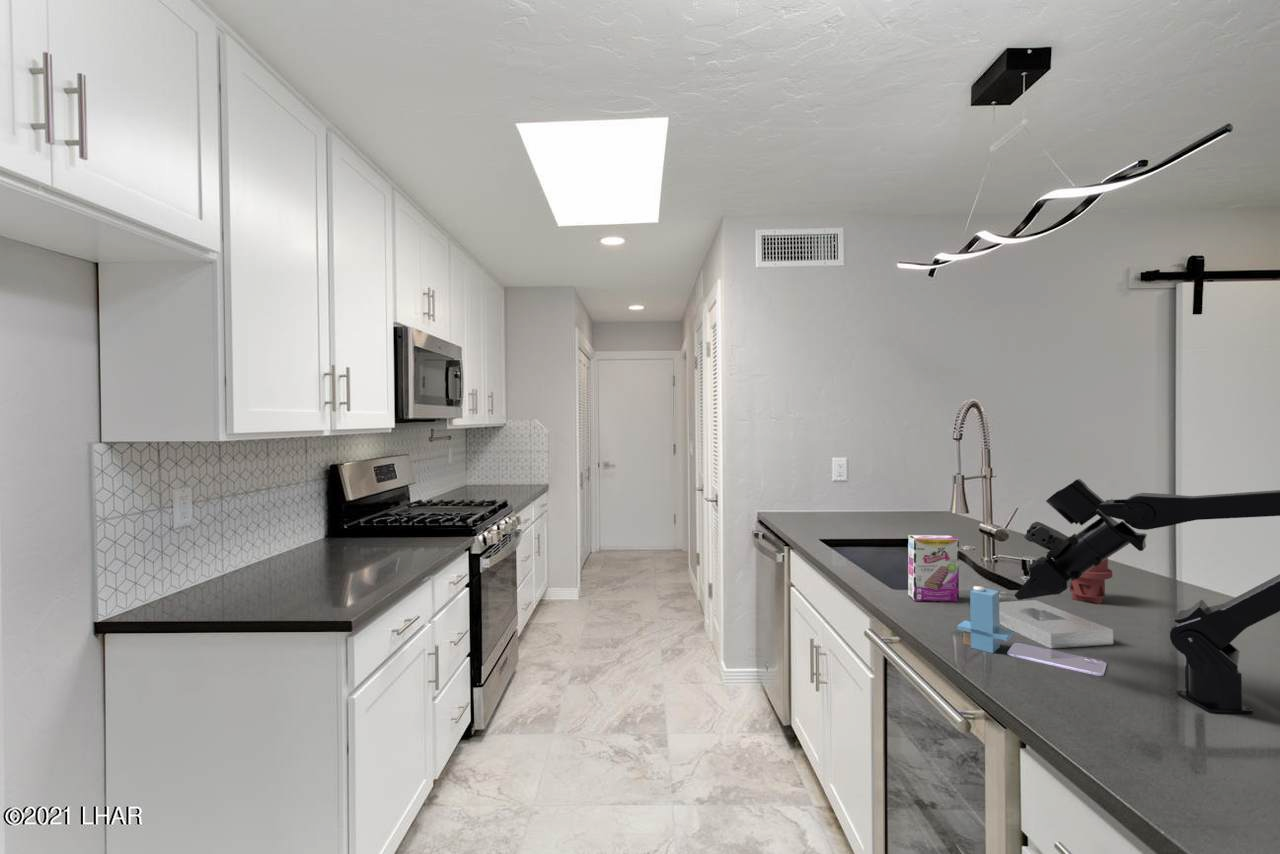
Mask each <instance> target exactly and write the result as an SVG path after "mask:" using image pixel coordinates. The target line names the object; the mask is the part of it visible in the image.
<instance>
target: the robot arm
mask: <svg viewBox="0 0 1280 854" xmlns="http://www.w3.org/2000/svg"><path fill="white" fill-rule="evenodd" d="M1045 502H1046V503H1047V504H1049V506H1050V507H1052V509H1054V510H1055V511H1056V512H1057V513H1058V514H1059V515H1061V517H1062V518H1064V519H1065V520H1066V521H1067V522H1068V523H1069V524H1070V525H1073V524H1075V525H1078V524H1079V525H1080V526H1083V525H1085V524H1086V523H1088V522H1089V521H1091V520H1092V519H1093V518H1095V517H1096V516H1099V517H1100V518H1098V519H1097V520H1095V521H1094V522H1092V523H1091V524H1089V525H1088V526H1086V527H1085V528H1083V530H1081V531H1079V532H1078V533H1077V534H1076V533H1073V534H1072V535H1070V536H1068V535H1066V534H1064V533H1062V532H1061V531H1059V530H1057V529H1055V528H1053V527H1050V526H1048V525H1047V524H1044V523H1042V522H1040V521H1034V522H1032V523H1031V525H1030V526H1029V528H1028V529H1027V530H1026V534H1024V537H1023V538H1024V539H1025V540H1026V541H1028V542H1030V543H1034V544H1036V545H1038V546H1040V547H1042V548H1044V549H1046V550H1048V551H1047V552H1046V554H1045V556H1041V557H1039V558H1037V559H1036V560H1034V561H1033V562H1032V563H1030V564H1029V565H1028V571H1029V577H1028V579H1027V580H1026V581H1025V582H1024V583H1023V585H1022V586H1021V587H1020V588H1019V589H1018V590H1017V591H1016V592H1015V594H1014V597H1015V598H1016V599H1017V601H1023V600H1027V599H1033V598H1038V597H1046V596H1055V595H1056V596H1057V595H1060V594H1062V593H1063V592H1064V591H1066V590H1067V589H1070V586H1071V581H1072V580H1074V579H1077V578H1079V577H1080V576H1081V575H1083V574H1084V573H1085V572H1087V571H1088V570H1090V569H1091V568H1093V567H1095V566H1097V565H1099V564H1100V563H1101V562H1102V561H1104V560H1105V559H1107V558H1108V559H1109V558H1110V557H1111V556H1112V555H1114V554H1116V553H1117V552H1119V551H1120V550H1122V549H1124V548H1125V547H1126V546H1128V545H1129V544H1131V546H1133V547H1134V548H1135V549H1137V550H1138V551H1139V552H1143V551H1144V549H1146V547H1147V544H1146V543H1147V542H1146V539H1147V537H1148V535H1147V533H1140V532H1136V530H1143V531H1146V530H1147V531H1148V530H1153V529H1160V528H1164V527H1165V528H1166V527H1169V526H1173V525H1174V526H1175V525H1178V524H1183V523H1187V522H1193V521H1199V520H1200V521H1202V520H1218V519H1219V520H1221V519H1222V520H1223V519H1224V520H1225V519H1240V518H1242V519H1243V518H1262V517H1263V518H1264V517H1280V489H1276V490H1275V489H1274V490H1273V489H1272V490H1262V491H1249V492H1236V493H1235V492H1234V493H1232V492H1231V493H1219V494H1205V495H1179V494H1171V493H1153V492H1140V493H1139V492H1138V493H1136V494H1133V495H1131V496H1130V497H1128V498H1126V499H1114V498H1111V499H1107V500H1106V499H1105V500H1104V499H1102V498H1101V497H1100V496H1099V495H1098V494H1096V493H1095V492H1094V491H1093V490H1092V489H1091V488H1090V487H1088V486H1087V484H1086V483H1085V482H1084V481H1083V480H1082V479H1081V478H1080V479H1079V478H1078V479H1075V480H1074V481H1073V482H1071V483H1069V484H1068V485H1066V486H1065V487H1063V488H1061V489H1059V490H1057V491H1056V492H1055V493H1054V494H1052V495H1051V496H1050V497H1048V499H1046V500H1045ZM1115 519H1118V520H1122V521H1119V522H1118V521H1117V520H1115ZM1134 529H1136V530H1134ZM1279 612H1280V573H1279V574H1278V575H1275V576H1274V577H1272V578H1270V579H1268V580H1266V581H1264V582H1263V583H1260V584H1259V585H1257V586H1254V587H1253V588H1251V589H1249V590H1247V591H1246V592H1243V593H1241V594H1240V595H1238V596H1236V597H1233V598H1232V599H1230V600H1228V601H1225V602H1224V603H1220V604H1216V605H1211V606H1209V605H1208V604H1207V603H1206V602H1205V601H1204V600H1203V599H1200V600H1198V602H1196V603H1195V604H1194V605H1193V606H1191V607H1190V608H1188V609H1183V610H1178V613H1177V614H1176V617H1175V619H1174V622H1173V625H1172V628H1171V630H1170V633H1169V640H1170V641H1171V644H1172V645H1173V647H1174V648H1175V650H1177V651H1179V653H1181V654H1182V655H1184V657H1185V666H1184V676H1185V680H1184V681H1185V682H1184V683H1185V685H1184V686H1185V687H1184V689H1185V690H1183V689H1179V690H1178V689H1177V690H1176V695H1178V696H1180V697H1182V698H1184V699H1185V700H1187V701H1189V702H1191V703H1193V705H1196V706H1198V707H1200V708H1202V709H1204V710H1205V711H1207V712H1209V713H1227V714H1228V713H1230V714H1231V713H1232V714H1253V713H1254V711H1253V709H1252V708H1250V707H1248V706H1246V705H1244V704H1243V692H1242V691H1243V686H1242V684H1243V683H1242V673H1241V672H1239V669H1238V667H1239V659H1240V650H1239V649H1238V648H1236V646H1234V645H1233V644H1232V642H1233V640H1235V639H1236V638H1237V637H1238V636H1240V634H1242V632H1243V631H1245V630H1246V629H1247V628H1249V627H1250V626H1253V625H1255V624H1257V623H1259V622H1261V621H1263V620H1266V619H1267V618H1269V617H1271V616H1273V615H1275V614H1277V613H1279Z"/></svg>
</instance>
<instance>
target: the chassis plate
mask: <svg viewBox="0 0 1280 854" xmlns="http://www.w3.org/2000/svg"><path fill="white" fill-rule="evenodd" d="M999 622H1000V626H1002V627H1005V628H1007V629H1008V630H1011V631H1014V632H1015V633H1017V634H1018V635H1021V636H1024V637H1025V638H1028V639H1029V640H1032V641H1034V642H1036V643H1038V644H1040V645H1043V646H1045V647H1047V648H1048V649H1050V650H1053V649H1063V648H1064V649H1065V648H1078V647H1079V648H1080V647H1081V648H1082V647H1092V646H1093V647H1094V646H1107V645H1108V646H1109V645H1114V629H1112V628H1109V627H1107V626H1104V625H1102V624H1098V623H1097V622H1093V621H1091V620H1088V619H1086V618H1083V617H1081V616H1078V615H1075V614H1073V613H1070V612H1068V611H1064V610H1062V609H1061V608H1057V607H1054V606H1051V605H1050V604H1047V603H1044V602H1042V601H1039V600H1037V599H1030V600H1027V599H1026V600H1014V601H999Z"/></svg>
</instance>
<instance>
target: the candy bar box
mask: <svg viewBox="0 0 1280 854" xmlns="http://www.w3.org/2000/svg"><path fill="white" fill-rule="evenodd" d="M907 539H908V540H907V541H908V542H907V547H908V549H907V558H908V559H907V564H908V565H907V567H908V568H907V584H908V585H907V595H908V597H909V598H910V597H911V598H910V599H912V601H914V602H936V601H940V602H944V603H945V602H946V603H948V602H949V603H959V597H960V595H959V593H960V592H959V591H960V590H959V589H960V586H959V584H960V583H959V581H960V579H959V577H960V570H959V569H960V568H959V567H960V565H959V564H960V559H959V557H960V549H959V547H960V540H959V539H958V538H956V537H954V536H952V535H938V534H937V535H936V534H935V535H934V534H933V535H932V534H930V535H929V534H927V535H925V534H921V535H920V534H908V535H907Z"/></svg>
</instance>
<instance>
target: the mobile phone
mask: <svg viewBox="0 0 1280 854" xmlns="http://www.w3.org/2000/svg"><path fill="white" fill-rule="evenodd" d="M1006 653H1007V655H1008V656H1010V657H1014V658H1018V659H1023V660H1027V661H1031V662H1035V663H1040V664H1045V665H1050V666H1053V667H1057V668H1061V669H1067V670H1070V671H1071V670H1072V671H1075V672H1080V673H1085V674H1088V675H1091V676H1092V675H1093V676H1098V677H1104V674H1105V673H1106V668H1107V663H1106V662H1105V661H1103V660H1101V659H1095V658H1091V657H1088V656H1087V657H1086V656H1082V655H1077V654H1074V653H1073V654H1072V653H1067V652H1062V651H1058V650H1055V649H1050V648H1045V647H1040V646H1035V645H1031V644H1025V643H1020V642H1014V643H1013V644H1012V645H1011V646H1010V648H1009V649H1008V651H1007V652H1006Z"/></svg>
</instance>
